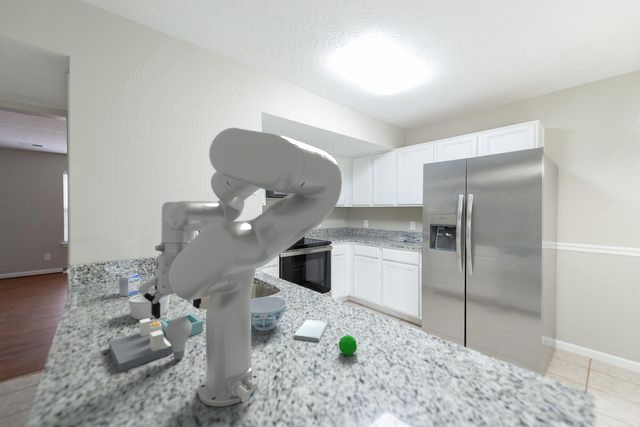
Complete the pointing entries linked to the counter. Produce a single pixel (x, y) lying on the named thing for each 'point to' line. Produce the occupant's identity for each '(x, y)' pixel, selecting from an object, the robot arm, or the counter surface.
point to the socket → (195, 322)
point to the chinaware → (267, 312)
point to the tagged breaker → (154, 327)
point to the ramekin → (146, 306)
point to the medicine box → (129, 285)
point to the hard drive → (311, 330)
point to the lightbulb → (178, 335)
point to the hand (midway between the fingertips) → (177, 312)
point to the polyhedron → (347, 345)
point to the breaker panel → (139, 347)
